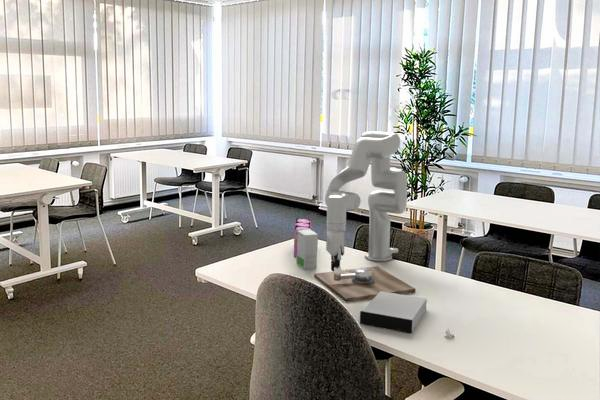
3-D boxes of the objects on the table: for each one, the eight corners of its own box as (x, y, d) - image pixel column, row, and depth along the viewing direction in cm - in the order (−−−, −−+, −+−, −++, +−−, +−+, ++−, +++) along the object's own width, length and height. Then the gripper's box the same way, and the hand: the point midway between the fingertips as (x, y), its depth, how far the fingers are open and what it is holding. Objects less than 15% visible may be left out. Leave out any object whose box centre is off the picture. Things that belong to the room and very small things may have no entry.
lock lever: (366, 273, 236) (366, 261, 235) (375, 280, 227) (376, 268, 226) (330, 276, 232) (330, 264, 231) (338, 284, 223) (338, 271, 222)
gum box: (295, 243, 290) (295, 217, 287) (311, 243, 290) (311, 217, 287) (293, 257, 267) (293, 229, 264) (310, 257, 266) (311, 229, 264)
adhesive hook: (447, 335, 186) (447, 326, 185) (454, 337, 185) (455, 328, 184) (443, 338, 184) (443, 329, 183) (450, 340, 182) (451, 331, 182)
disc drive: (359, 325, 193) (360, 311, 192) (379, 302, 213) (379, 290, 212) (411, 335, 186) (411, 320, 185) (426, 311, 206) (427, 297, 205)
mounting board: (377, 269, 250) (377, 263, 250) (415, 292, 223) (415, 286, 222) (314, 277, 239) (314, 271, 239) (345, 302, 212) (345, 295, 212)
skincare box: (296, 264, 256) (296, 230, 253) (309, 262, 259) (310, 229, 256) (304, 269, 249) (304, 234, 246) (317, 267, 252) (318, 233, 249)
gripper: (321, 222, 233) (321, 265, 236) (332, 231, 218) (331, 277, 222) (339, 221, 234) (338, 264, 238) (351, 230, 220) (350, 275, 224)
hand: (335, 270), depth 230 cm, fingers closed
